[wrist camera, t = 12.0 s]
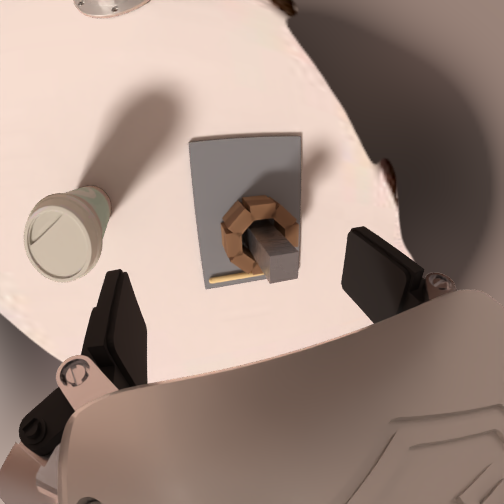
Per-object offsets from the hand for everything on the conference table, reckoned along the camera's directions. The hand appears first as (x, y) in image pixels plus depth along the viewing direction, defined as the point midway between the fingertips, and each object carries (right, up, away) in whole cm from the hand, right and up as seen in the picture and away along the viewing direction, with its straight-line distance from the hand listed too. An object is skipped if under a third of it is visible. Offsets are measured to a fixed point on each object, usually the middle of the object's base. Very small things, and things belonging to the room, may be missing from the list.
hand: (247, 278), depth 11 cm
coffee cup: (-20, +7, +19) cm, 28 cm away
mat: (0, +6, +25) cm, 26 cm away
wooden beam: (0, +4, +25) cm, 26 cm away
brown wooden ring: (+1, +4, +25) cm, 26 cm away
